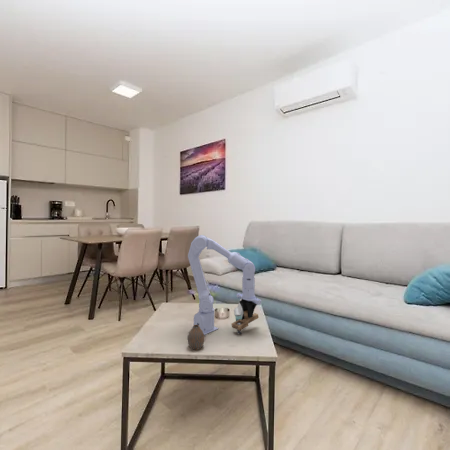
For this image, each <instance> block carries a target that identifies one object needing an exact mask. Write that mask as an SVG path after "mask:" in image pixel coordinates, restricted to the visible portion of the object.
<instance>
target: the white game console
mask: <svg viewBox="0 0 450 450" xmlns="http://www.w3.org/2000/svg"><path fill="white" fill-rule="evenodd" d="M239 299H240V298H239ZM241 300H242V299H240V300H239V301H241ZM233 313H234V316H235V315H241V316H242V320H243V319H245V318H244V313H243V309H242V306H241V304H240V303H239V302H238V304H237V306H236V307H234V310H233ZM234 318H235V319H236V317H234Z"/></svg>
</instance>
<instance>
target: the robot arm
mask: <svg viewBox="0 0 450 450" xmlns="http://www.w3.org/2000/svg"><path fill="white" fill-rule="evenodd" d="M204 249H206V250H212V251H213V250H214V251H215V252H217V253H218V254H220V255H222V257H225V258H226V259H227V261H228V263H229V264H231V265H232V266H234V267H235V268H236V269H238V270H241V271H242V280H241V281H242V283H241V284H242V285H241V286H242V287H241V289H242V292H241V293H240V292H239V293H236V299H242V300H241V301H240V300H239V302H238V304H239V303H240V304H241V306H242V309H243V313H244V311H246V310H248V318H251V317H252V316H253V314H254V313H255V309H256V308H257V306H258V305H259V306H260V305H262V300H261V299H260V298H258V297H256V294H255V293H256V292H255V290H256V289H255V286H256V285H255V282H256V281H255V280H256V278H255V273H256V266H255V264H254V262H252V261H251V260H249V258H245V257H244V256H242V255H241V253H240V252H238V251H237V252H236V251H232V252H231V251H230V250H228V249H227V248H225V247H224V246H222V245H221V244H219V242H217V241H216V240H214V239H212V238H210V237H208V236H206V235H205V234H199V235H198V236H196V237H194V239H193V240H192V241H191V243H190V246H189V250H188V253H187V259H188V262H189V265H190V269H191V273H192V275H193V280H194V283H195V286H196V289H197V293H198V300H199V301H198V302H199V304H198V308H199V309H198V311H197V313H195V314H194V315H193V326H194V325H199V327H200V328H201V330H202V331H203V333H204V336H205V335H207V334H210V333H213V332H214V331H217V330H218V329H219V328H218V326H217V327H216V326H215V308H214V302H215V299H214V298H215V297H214V296H213V295H212V294H211V292H210V290H209V288H208V284H207V281H206V277H205V273H204V270H203V267H202V264H201V259H200V254H201V253H202V252H203V250H204Z"/></svg>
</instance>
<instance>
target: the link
mask: <svg viewBox="0 0 450 450" xmlns="http://www.w3.org/2000/svg"><path fill="white" fill-rule="evenodd" d="M244 318H245V319H242V320H241V319H239V320H237V321H236V320H235V321H234V322H232V323H230V324H231V328H233V329H235V330H236V331H237V330H239V331H240V330H241V331H242V330H244V329H246V328H247V327H249V324H250V323H252V322H254V321H256V320H257V319H259V318H260V317H259V313H255V312H253V316H252V317H251V318H248V310H246V311H244ZM237 323H241V325H238V324H237Z"/></svg>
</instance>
